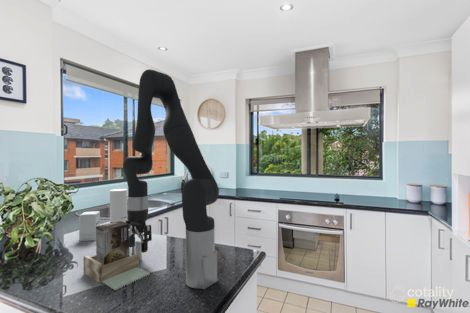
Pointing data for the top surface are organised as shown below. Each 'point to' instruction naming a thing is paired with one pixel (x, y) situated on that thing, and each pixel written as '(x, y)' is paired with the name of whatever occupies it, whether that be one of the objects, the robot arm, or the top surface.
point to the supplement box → (88, 225)
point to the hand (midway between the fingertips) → (137, 249)
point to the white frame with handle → (138, 249)
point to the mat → (125, 278)
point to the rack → (108, 267)
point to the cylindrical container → (118, 205)
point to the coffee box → (112, 242)
